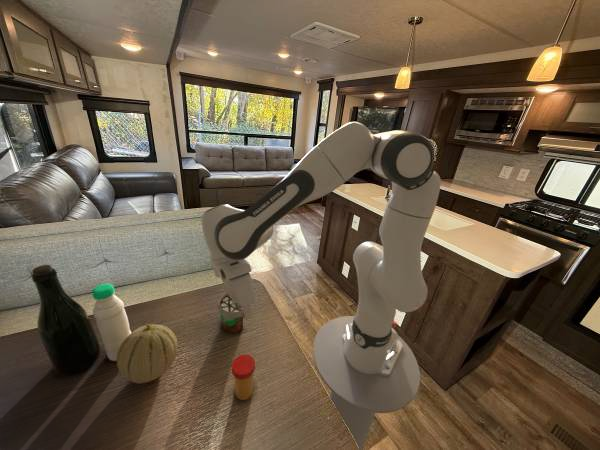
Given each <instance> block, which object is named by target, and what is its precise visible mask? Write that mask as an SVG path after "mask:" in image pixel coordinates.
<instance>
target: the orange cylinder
mask: <svg viewBox="0 0 600 450" xmlns="http://www.w3.org/2000/svg"><path fill="white" fill-rule="evenodd" d="M234 389H235V390H234V393H235V394H234V395H235V396H236V398H237V399H238V400H240V401H246V400H248V399H249V398H251V397H252V396H253V394H254V373H253V374H252V375H251V376H250V377H249V378H247V379H243V380H240V379H237V378H235V377H234Z"/></svg>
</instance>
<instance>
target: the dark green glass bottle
mask: <svg viewBox="0 0 600 450" xmlns="http://www.w3.org/2000/svg"><path fill="white" fill-rule="evenodd" d="M31 272H32V274H31V281H32V282H33V284H34V285H35V288H36V291H37V293H38V297H39V312H38V317H37V322H36V323H37V324H36V325H37V331H38V334H39V337H40V340H41V343H42V345H43V347H44V350H45V352H46V355H47V357H48V360H49V362H50V363H51V365H52V367H53V370H54V371H55V372H56V374H57V375H59V376H67V377H68V376H73V375H77V374H79V373H81V372H83V371H85V370H87V369H88V368H90V367H91V366H92V365H94V364H95V363H96V361H97V360H98V359H99V357H100V355H101V352H102V348H101V346H100V343H99V339H98V337H97V334H96V332H95V329H94V327H93V325H92V324H93V323H92V322H91V319H90V317H89V315H88V313H87V311H86V309H85V308H84V307H83V305H81V304H80V303H79V302H77V301H76V300H75V299H74V298H72V297H71V296H70V295H69V294H68V293H67V291H66V290H65V289H64V287H63V285H62V283H61V281H60V279H59V276H58V272H57V270H56V269H55V268H53V267H52V266H51V264H43V265H38V266H36V267H34V268H33V269H32V270H31Z"/></svg>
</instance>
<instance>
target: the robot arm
mask: <svg viewBox="0 0 600 450" xmlns="http://www.w3.org/2000/svg"><path fill="white" fill-rule="evenodd" d="M435 156H436V155H435V149H434V146H433V144H432V142H431V141H430V140H429V139H428V138H427V137H425V136H424V135H423V134H420V133H418V132H415V131H406V130H400V129H396V130H390V131H389V130H388V131H386V130H385V131H379V132H374V133H372V131H371V130H370V129H369V128H368V127H367V126H366V125H365V124H363V123H360V122H357V121H351V122H350V121H349V122H348V123H346V124H344V125H342V126H341V127H339V128H338V129H335V131H333V132H332V133H330V134H329V135H327V136H326V137H324V139H322V140H321V141H320V142H318V143H317V144H316V145H315V146H314V147H313V148H311V150H310V151H308V152H307V153H306V154H305V155H304V157H302V159H300V161H299V162H297V164H296V165H295V166H294V167H293V168H292V169H291V170H290V171H289V172H288V174H286V176H285V177H283V179H282V180H281V181H280V182H278V183H277V184H276V185H274V186H273V187H272V188H271V189H270V190H269V191H267V192H266V193H265V194H264V195H262V196H261V197H260V198H259V199H258V200H256V201H255V202H254V203H252V205H250V206H249V207H248V208H246V209H240V208H236V207H233V206H231V205H230V204H224V203H223V204H220V205H217V206H214V207H212V208H209V209H208V210H206V211H204V213H203V214H202V216H201V226H202V233H203V236H204V240H205V245H206V246H207V247H208V249H209V252H210V253H209V254H210V262H211V265H212V269H213V273H214V276H215V277H216V278H220V279H221V281H222V285H223V289H224V290H225V292H226V293H228V295H229V296H230V297H231V299H232V300H233V302H234V305H235V308H236V309H239V308H240V309H241V310H243V315H244V316H243V319H245V320H250V319H252V317H253V314H252V312H251V310H252V308H251V307H252V306H251V305H254V304H255V303H256V294H255V289H254V284H253V279H252V275H251V274H250V273H251V272H252V271H253V270H252V267H251V264H250V263H249V261H248V259H247V258H248V257H249V256H250V255H252V254H253V253H254V252H255V251H256V250H258V249H260V248H261V247H262V246H263V245H265V244H266V243H268V242H269V240H270V239H271V238H272V236H273V233H274V225H276V224H277V223H278V222H279V221H281V219H283V218H284V217H286V215H288V214H289V213H290V212H292V211H293V210H295V209H296V208H298V207H300V206H302V205H304V204H308V203H309V202H312V201H315V200H319V199H321V198H322V197H323V198H324V197H325V196H327V195H329V194H330V193H332V192H334V191H335V190H337V189H339V188H340V187H341V186H343V184H345V183H346V182H347V181H348V180H350V179H351V178H352V177H353V176H355V175H356V174H357V173H359V172H361V171H363V170H366V169H367V170H370V171H372V172H373V173H374V174H376V175H377V176H379V177H381V178H383V179H386V180H389V181H390V182H391V191H390V192H391V193H390V196H389V198H388V201H387V204H386V207H385V210H384V213H383V216H382V219H381V222H380V225H379V229H378V235H379V237H380V241H381V244H382V245H381V244H379V243H377V242H374V241H370V240H369V241H364V242H362V243H361V244H359V245H358V246H357V247H356V248H355V250H354V252H353V255H352V261H353V264H354V266H355V270H356V271H355V272H356V277H357V278H356V279H357V286H358V289H357V290H358V302H357V307H356V308H357V309H356V313H355V315H354V316H355V317H354V319H353V323H352V324H350V325H349V328H348V325H347V326H346V327H347V333H346V334H344V335H343V337H342V339H343V342H344V349H343V350H344V356H345V358H346V360H347V361H348V363H349V364H350V365H351V366H352V367H353V368H354V369H356V370H358V371H359V372H362V373H365V374H371V375H373V374H380V375H383V376H389V375H390V374H391V371H392V369H393V367H394V365H395V363H396V361H397V359H398V357H399V354H400V352H401V350H402V347H403V345H402V343H401V342H400V341H399V339H398V336H399V333H398V332H397V331H396V330H395V328H396V327H397V324H398V322H396V321H395V317H396V314H397V311H398V312H401V313H412V312H415V311H417V310H418V309H421V307H422V306H423V305H424V304H425V302H426V300H427V297H428V293H429V290H428V285H427V283H426V281H425V278H424V276H423V271H422V260H421V259H422V258H421V255H422V254H421V253H422V245H423V242H424V239H425V236H426V233H427V230H428V228H429V225H430V222H431V220H432V217H433V215H434V212H435V209H436V206H437V203H438V199H439V195H440V191H441V184H442V179H441V177H440V175H439V174H438V173H437V171H435V166H434V165H435ZM387 369H388V370H387Z"/></svg>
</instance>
